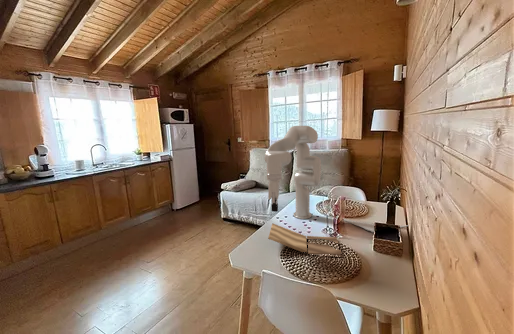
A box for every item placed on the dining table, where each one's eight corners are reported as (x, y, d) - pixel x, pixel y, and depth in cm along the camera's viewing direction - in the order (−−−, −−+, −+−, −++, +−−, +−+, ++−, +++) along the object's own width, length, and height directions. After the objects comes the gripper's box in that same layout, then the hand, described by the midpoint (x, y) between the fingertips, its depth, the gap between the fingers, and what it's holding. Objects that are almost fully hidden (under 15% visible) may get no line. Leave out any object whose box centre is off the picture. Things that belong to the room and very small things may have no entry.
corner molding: (337, 219, 164) (372, 233, 136) (337, 217, 164) (373, 230, 136) (370, 215, 175) (409, 228, 147) (370, 213, 175) (409, 225, 147)
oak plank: (271, 225, 136) (272, 223, 135) (305, 238, 134) (306, 236, 133) (268, 238, 120) (269, 236, 120) (305, 253, 118) (307, 251, 118)
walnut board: (306, 238, 135) (306, 235, 134) (336, 239, 132) (336, 237, 131) (307, 255, 117) (308, 252, 117) (342, 257, 114) (342, 254, 114)
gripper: (268, 173, 130) (269, 206, 133) (265, 179, 116) (265, 215, 119) (282, 174, 129) (282, 206, 132) (280, 180, 114) (280, 216, 117)
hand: (274, 210), depth 125 cm, fingers closed
